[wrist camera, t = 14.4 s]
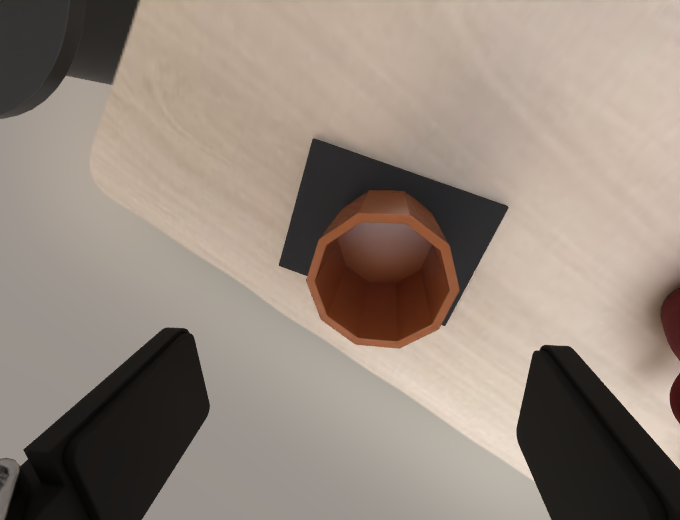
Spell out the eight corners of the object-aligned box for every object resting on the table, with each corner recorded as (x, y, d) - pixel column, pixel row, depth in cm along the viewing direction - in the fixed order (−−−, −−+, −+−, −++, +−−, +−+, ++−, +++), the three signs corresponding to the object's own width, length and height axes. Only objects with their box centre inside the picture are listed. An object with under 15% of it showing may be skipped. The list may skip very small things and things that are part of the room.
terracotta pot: (322, 268, 25) (293, 321, 18) (354, 172, 22) (334, 188, 15) (411, 300, 25) (418, 367, 17) (454, 207, 22) (485, 241, 15)
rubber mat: (280, 263, 26) (278, 265, 26) (314, 138, 22) (312, 138, 22) (444, 323, 26) (445, 326, 25) (506, 205, 22) (509, 207, 21)
